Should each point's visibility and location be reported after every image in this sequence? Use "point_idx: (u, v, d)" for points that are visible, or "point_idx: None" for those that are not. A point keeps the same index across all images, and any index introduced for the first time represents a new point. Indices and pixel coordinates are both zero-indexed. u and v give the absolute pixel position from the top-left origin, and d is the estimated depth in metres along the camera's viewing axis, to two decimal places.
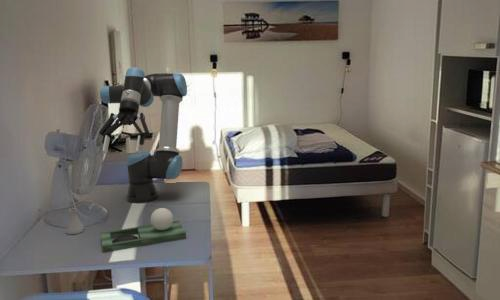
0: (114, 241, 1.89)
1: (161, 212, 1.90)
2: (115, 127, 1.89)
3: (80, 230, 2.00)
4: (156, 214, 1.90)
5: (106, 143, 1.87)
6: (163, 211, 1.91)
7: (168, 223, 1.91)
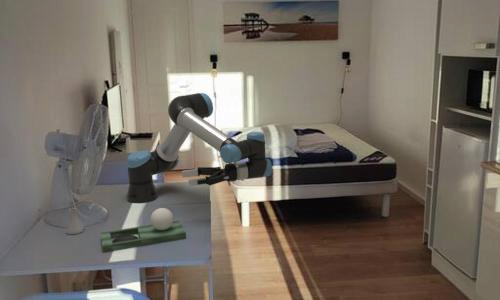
0: (114, 241, 1.89)
1: (161, 212, 1.90)
2: None
3: (80, 230, 2.00)
4: (156, 214, 1.90)
5: None
6: (163, 211, 1.91)
7: (168, 223, 1.91)
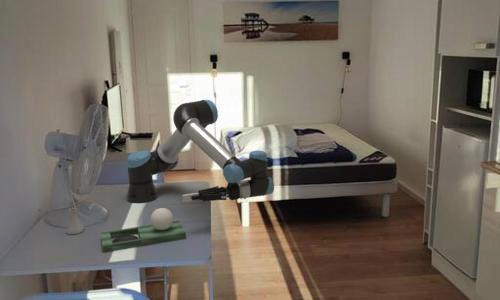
0: (114, 241, 1.89)
1: (161, 212, 1.90)
2: None
3: (80, 230, 2.00)
4: (156, 214, 1.90)
5: None
6: (163, 211, 1.91)
7: (168, 223, 1.91)
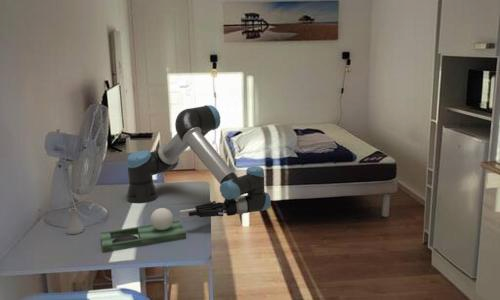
0: (114, 241, 1.89)
1: (161, 212, 1.90)
2: None
3: (80, 230, 2.00)
4: (156, 214, 1.90)
5: None
6: (163, 211, 1.91)
7: (168, 223, 1.91)
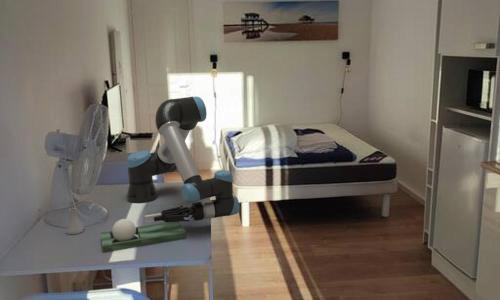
0: (114, 241, 1.89)
1: (130, 238, 1.87)
2: None
3: (80, 230, 2.00)
4: (134, 234, 1.88)
5: None
6: (128, 240, 1.87)
7: (121, 231, 1.84)
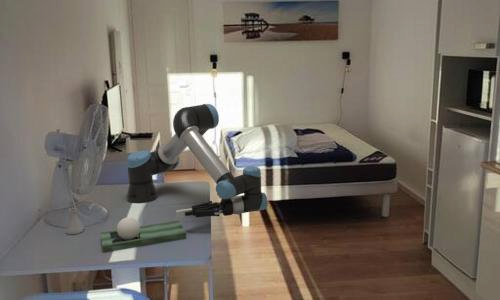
0: (114, 241, 1.89)
1: (134, 236, 1.88)
2: None
3: (80, 230, 2.00)
4: None
5: None
6: (132, 238, 1.88)
7: (129, 226, 1.86)
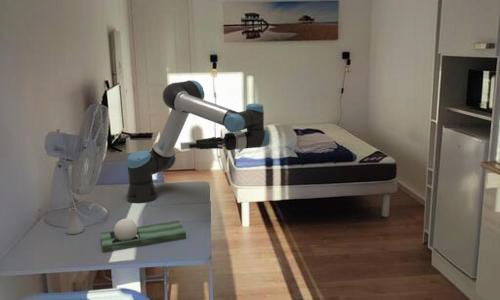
0: (114, 241, 1.89)
1: (133, 237, 1.88)
2: None
3: (80, 230, 2.00)
4: (136, 233, 1.89)
5: None
6: (131, 239, 1.88)
7: (126, 231, 1.84)
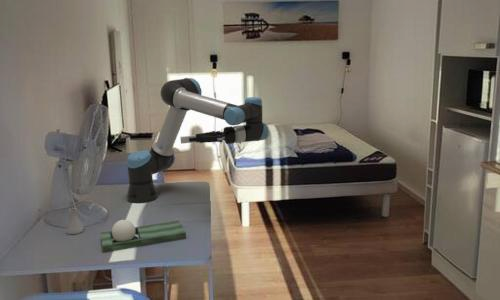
0: (114, 241, 1.89)
1: (132, 238, 1.87)
2: None
3: (80, 230, 2.00)
4: None
5: None
6: None
7: (123, 234, 1.83)
